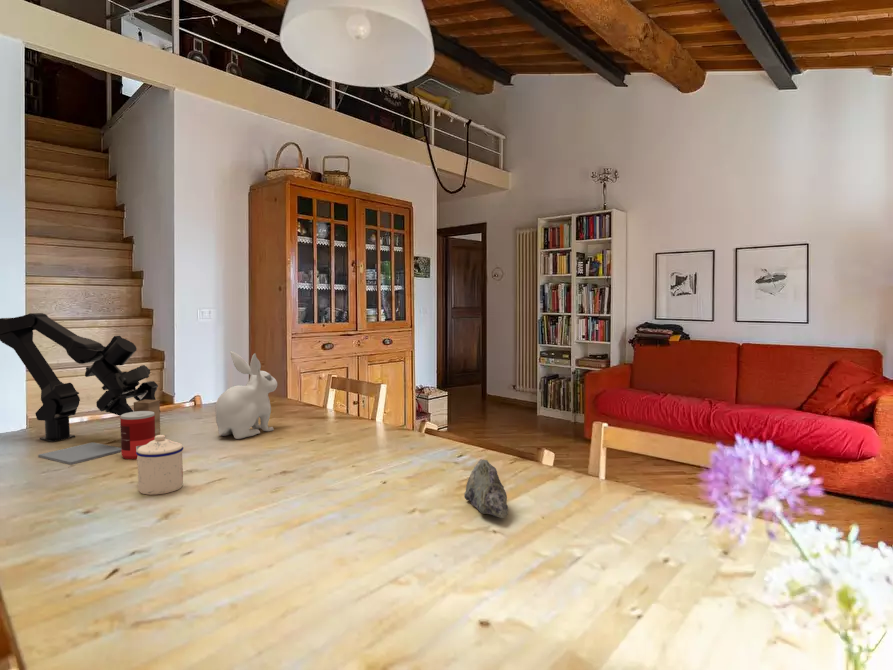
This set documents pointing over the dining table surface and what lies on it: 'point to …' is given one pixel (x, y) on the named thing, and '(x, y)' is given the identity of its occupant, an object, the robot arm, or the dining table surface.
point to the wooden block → (150, 406)
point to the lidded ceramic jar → (160, 466)
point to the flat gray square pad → (80, 453)
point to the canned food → (136, 432)
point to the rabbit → (246, 401)
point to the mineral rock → (486, 490)
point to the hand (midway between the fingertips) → (148, 416)
